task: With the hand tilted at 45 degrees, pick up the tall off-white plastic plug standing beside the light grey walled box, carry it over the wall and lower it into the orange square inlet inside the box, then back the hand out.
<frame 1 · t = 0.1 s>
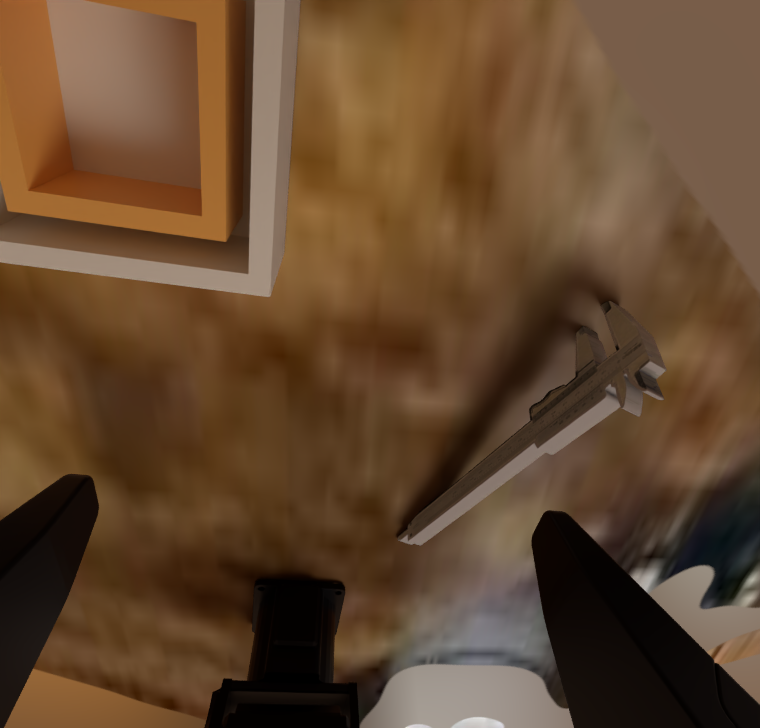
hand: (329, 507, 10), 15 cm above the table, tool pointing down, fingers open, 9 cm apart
socket box: (150, 99, 18), on the table
caliper: (490, 434, 29), on the table
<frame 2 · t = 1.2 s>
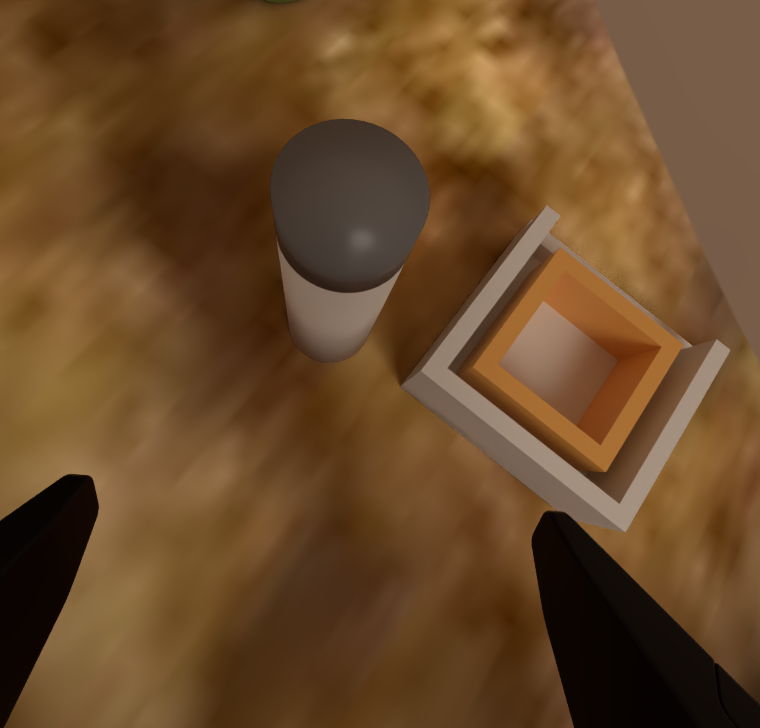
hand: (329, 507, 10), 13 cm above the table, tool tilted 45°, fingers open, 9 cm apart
socket box: (540, 370, 26), on the table
plug: (329, 323, 24), on the table
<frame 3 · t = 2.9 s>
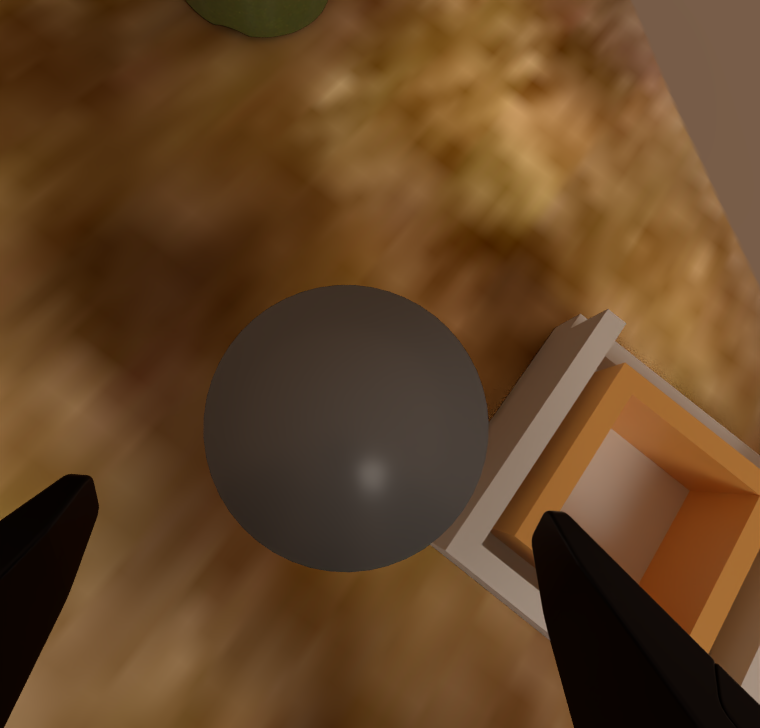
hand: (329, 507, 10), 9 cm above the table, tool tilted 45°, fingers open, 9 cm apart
socket box: (590, 503, 20), on the table
plug: (322, 448, 19), on the table
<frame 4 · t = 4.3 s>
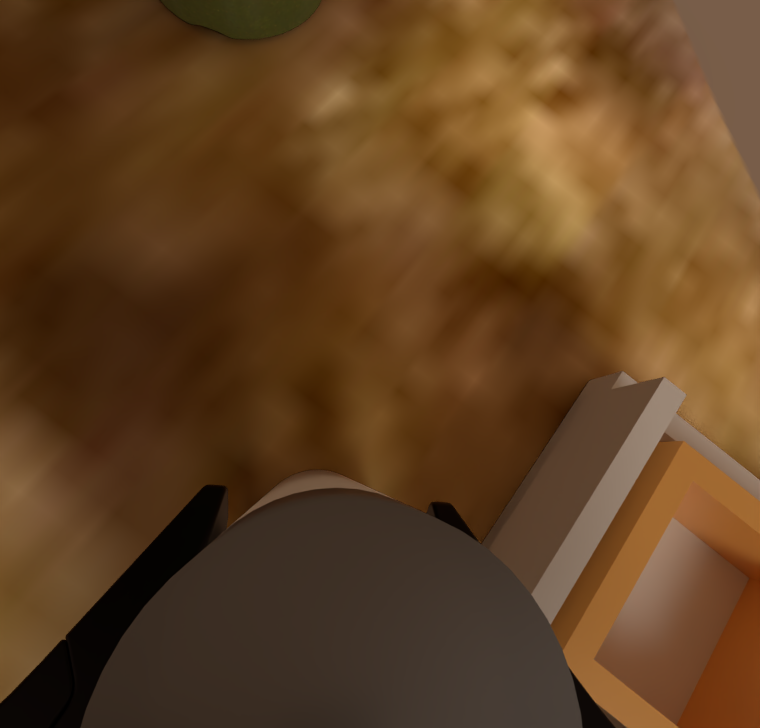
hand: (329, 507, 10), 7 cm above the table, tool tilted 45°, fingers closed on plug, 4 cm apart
socket box: (631, 591, 17), on the table
plug: (315, 532, 16), on the table, touching gripper
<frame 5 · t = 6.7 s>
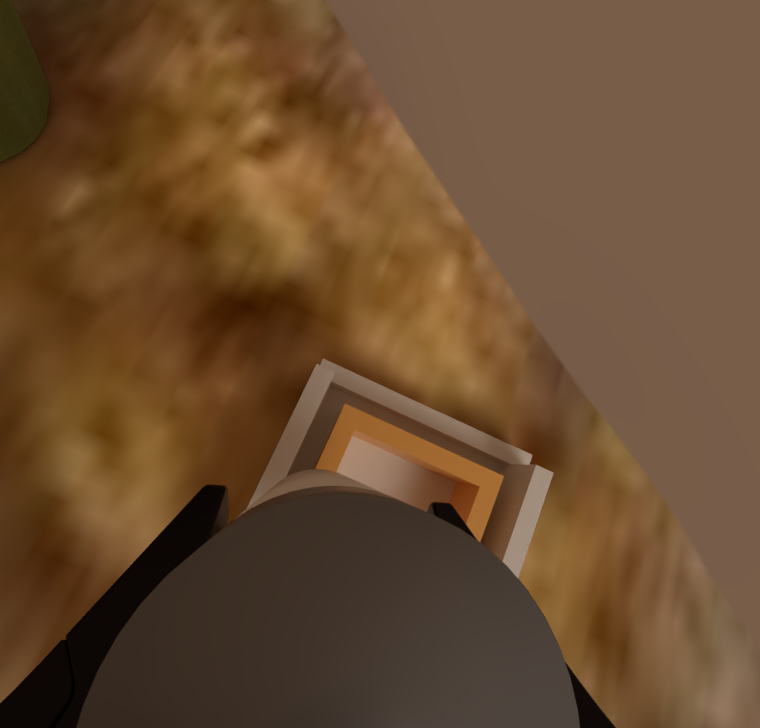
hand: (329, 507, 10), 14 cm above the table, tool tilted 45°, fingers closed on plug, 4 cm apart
socket box: (376, 514, 23), on the table
plug: (315, 531, 16), point 7 cm above the table, touching gripper
when the fingers open (9 cm above the table, at t = 9.0 s): plug drops 1 cm, resting on socket box.
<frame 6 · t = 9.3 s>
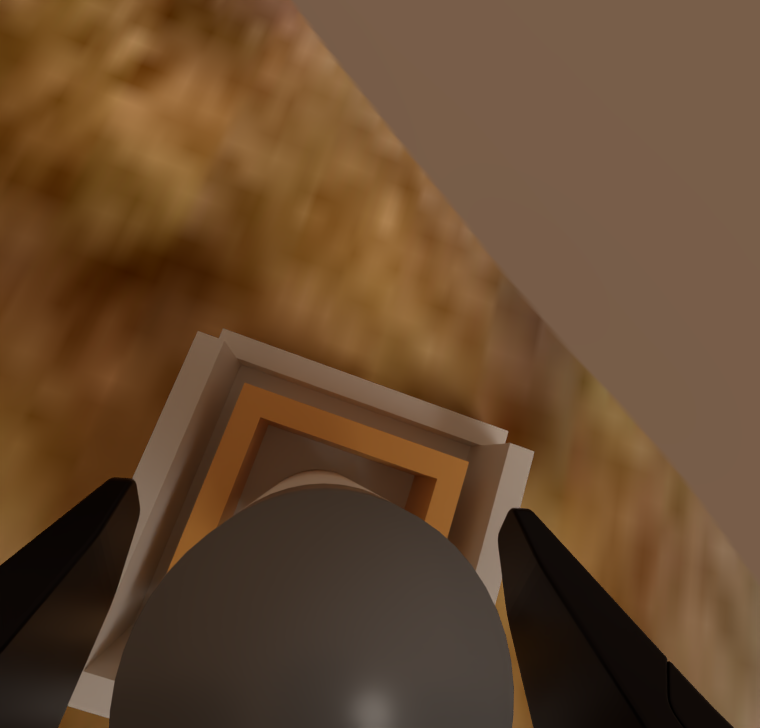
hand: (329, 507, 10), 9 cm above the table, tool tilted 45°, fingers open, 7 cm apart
socket box: (315, 524, 18), on the table
plug: (315, 528, 17), point 1 cm above the table, touching socket box
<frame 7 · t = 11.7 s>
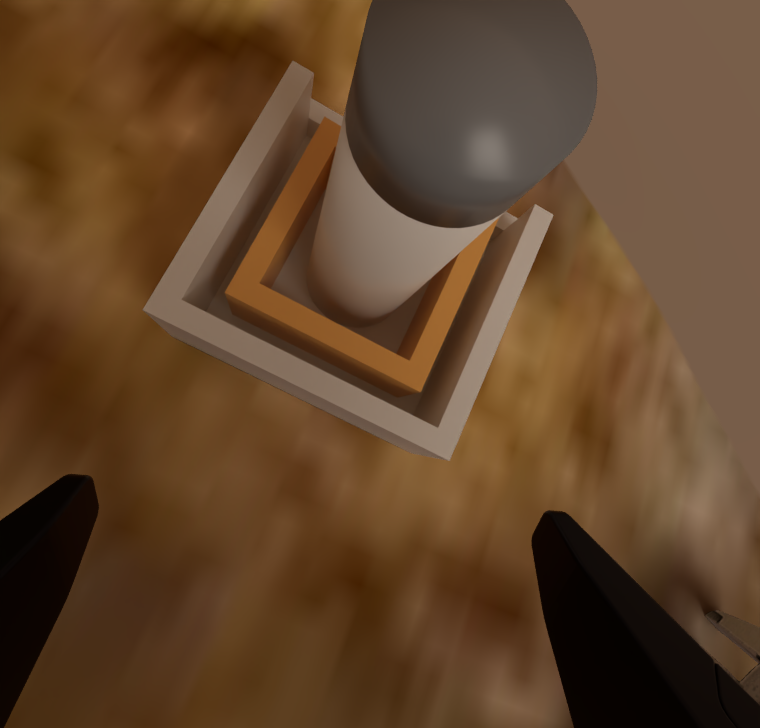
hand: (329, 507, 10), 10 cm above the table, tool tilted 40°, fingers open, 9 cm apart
socket box: (353, 284, 21), on the table
plug: (356, 279, 20), point 1 cm above the table, touching socket box
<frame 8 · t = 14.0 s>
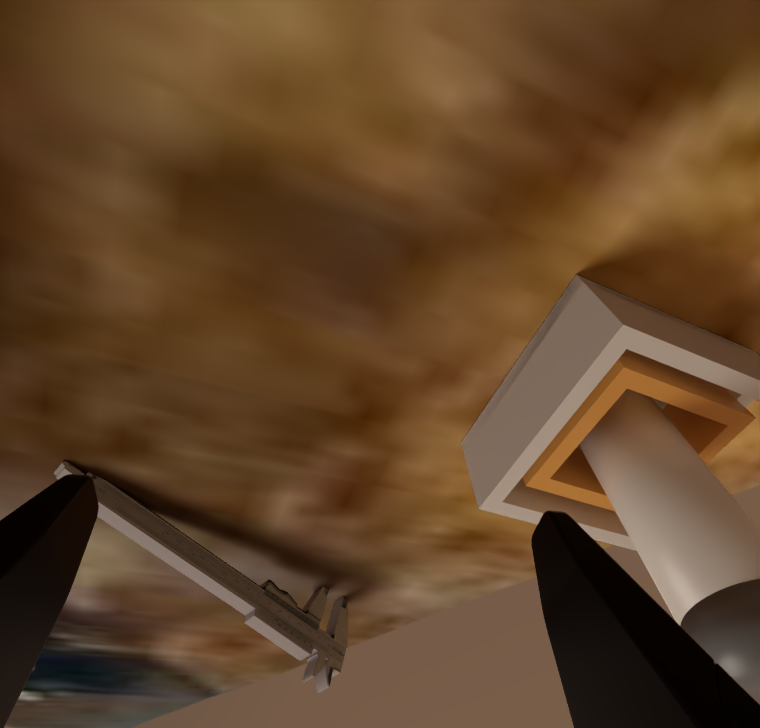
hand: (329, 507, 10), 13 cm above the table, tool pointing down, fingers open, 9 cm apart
socket box: (599, 398, 25), on the table
caliper: (222, 536, 31), on the table
plug: (605, 408, 25), point 1 cm above the table, touching socket box
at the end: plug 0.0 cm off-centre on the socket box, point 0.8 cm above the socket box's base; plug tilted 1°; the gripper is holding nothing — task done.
